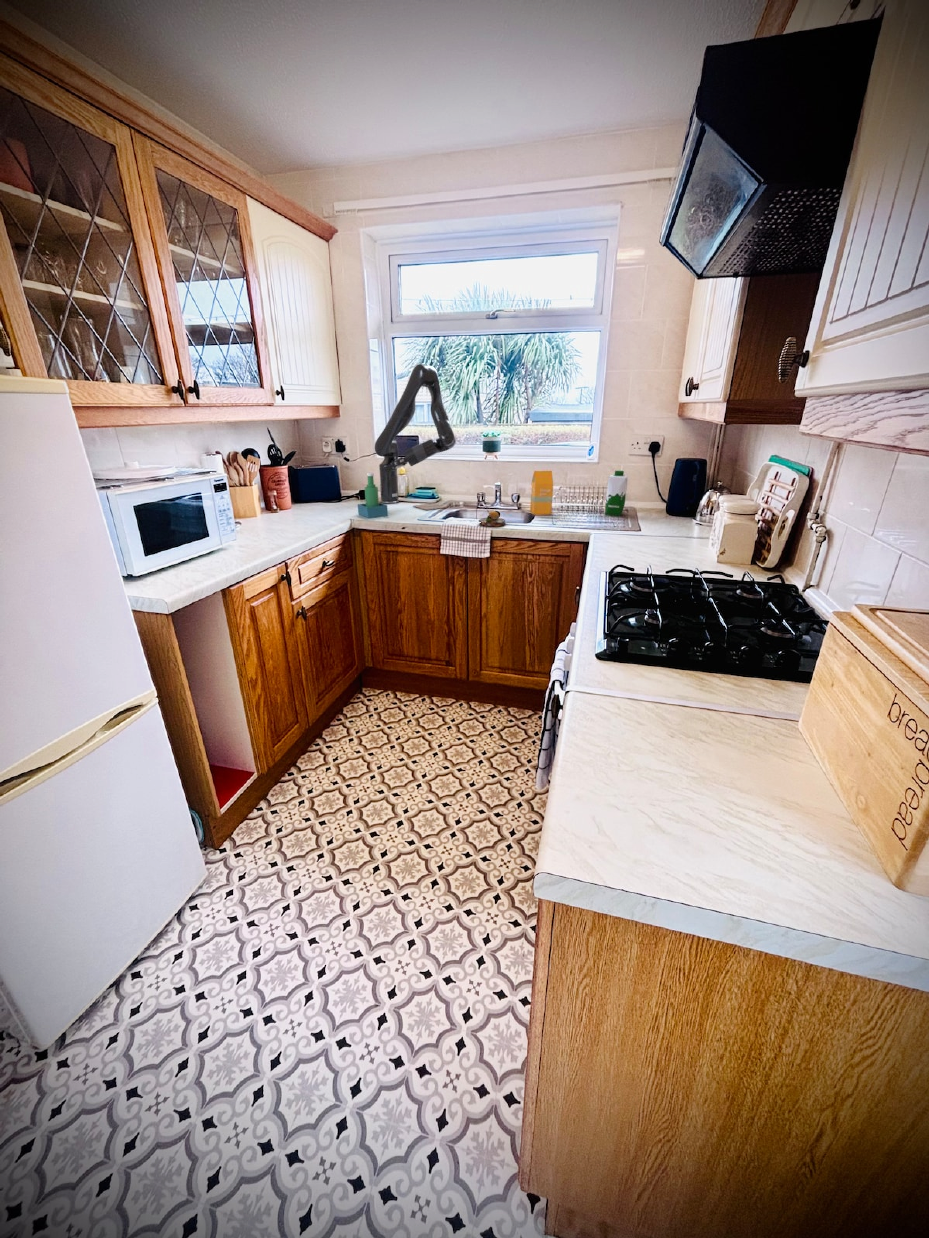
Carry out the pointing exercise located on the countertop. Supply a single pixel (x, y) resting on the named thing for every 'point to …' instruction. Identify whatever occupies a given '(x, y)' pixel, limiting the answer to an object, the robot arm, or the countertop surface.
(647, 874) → the countertop surface
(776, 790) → the countertop surface
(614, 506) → the milk carton
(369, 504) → the bottle
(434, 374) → the robot arm
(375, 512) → the blue open box
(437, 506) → the board
